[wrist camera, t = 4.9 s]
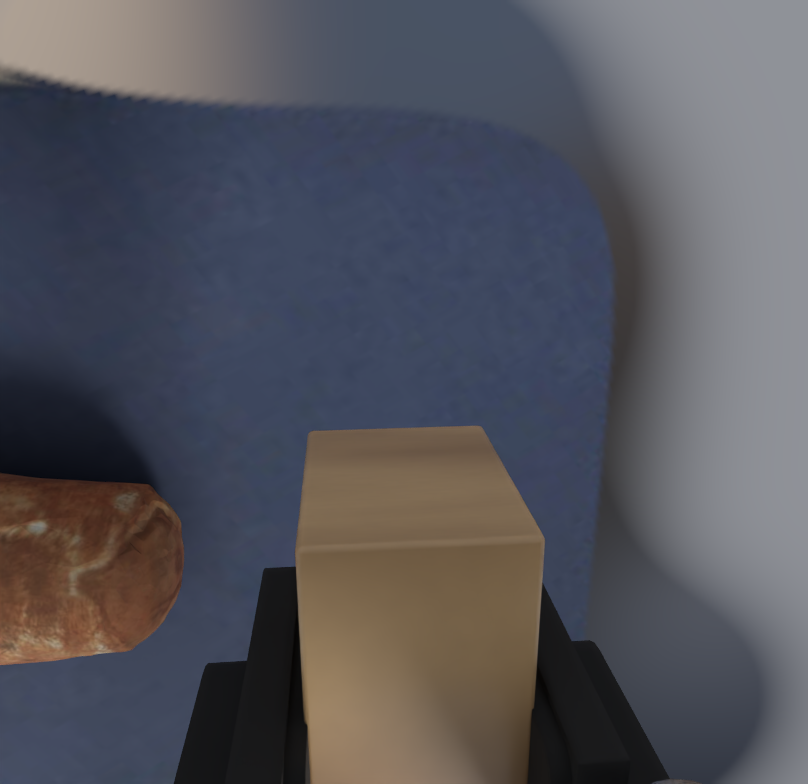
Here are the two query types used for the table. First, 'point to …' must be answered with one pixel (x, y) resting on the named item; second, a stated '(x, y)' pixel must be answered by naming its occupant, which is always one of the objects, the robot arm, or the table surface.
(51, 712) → the table surface
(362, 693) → the knife
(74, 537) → the bread
